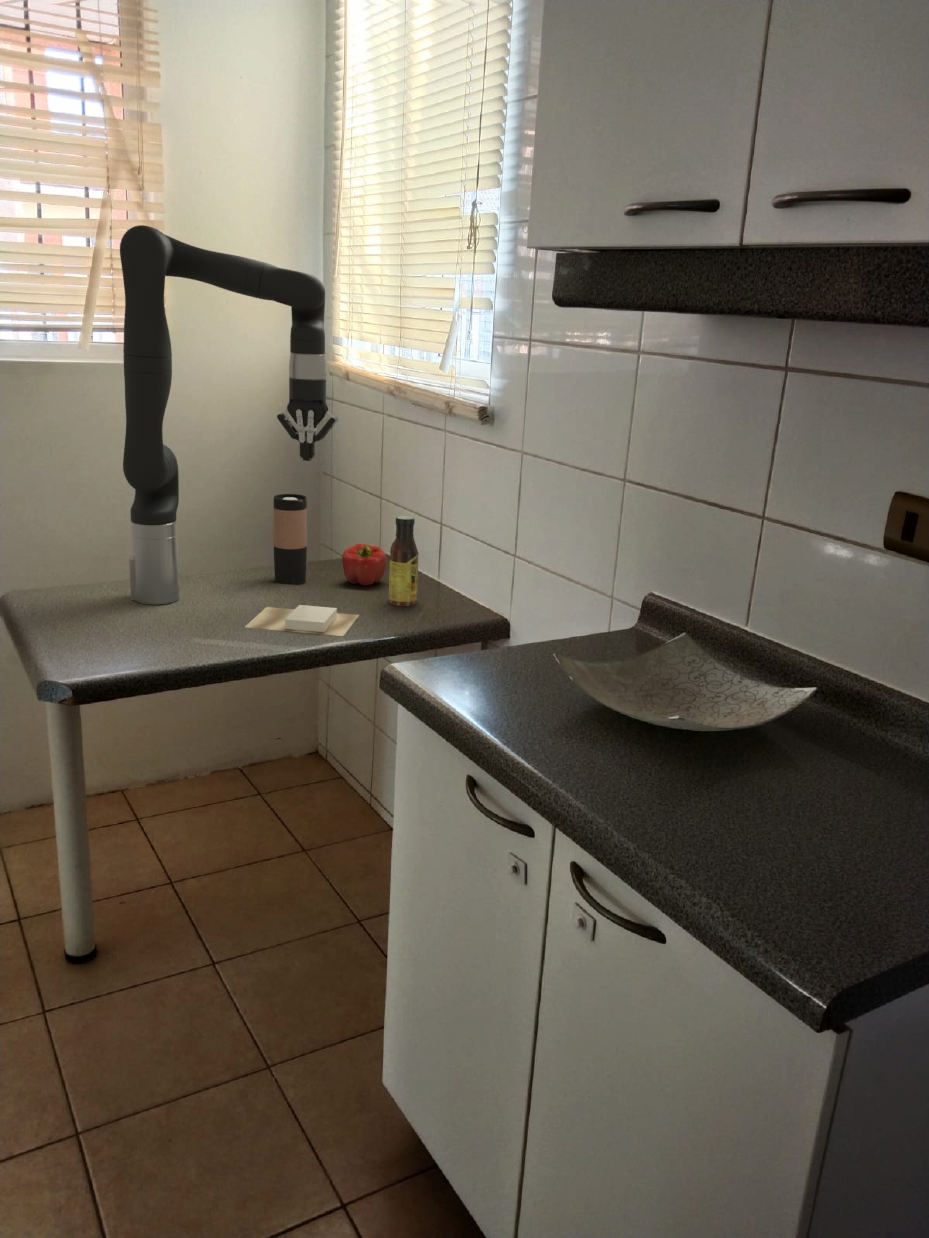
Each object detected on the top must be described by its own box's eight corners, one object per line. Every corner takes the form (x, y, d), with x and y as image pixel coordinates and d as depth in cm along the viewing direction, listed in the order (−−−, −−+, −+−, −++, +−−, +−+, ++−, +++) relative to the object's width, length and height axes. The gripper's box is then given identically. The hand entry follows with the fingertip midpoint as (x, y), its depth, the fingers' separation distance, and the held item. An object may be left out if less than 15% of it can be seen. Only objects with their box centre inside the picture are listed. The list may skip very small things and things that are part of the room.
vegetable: (390, 589, 233) (391, 547, 229) (345, 591, 230) (346, 548, 227) (381, 577, 243) (382, 536, 239) (338, 578, 240) (339, 537, 237)
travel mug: (273, 576, 238) (273, 493, 232) (306, 576, 239) (306, 494, 233) (273, 585, 231) (273, 500, 225) (307, 585, 232) (307, 500, 226)
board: (244, 631, 199) (244, 627, 199) (266, 611, 212) (266, 607, 212) (343, 640, 197) (343, 635, 196) (359, 619, 210) (359, 615, 210)
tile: (299, 614, 208) (284, 629, 199) (299, 604, 207) (284, 619, 198) (336, 617, 207) (324, 632, 198) (336, 608, 207) (324, 622, 197)
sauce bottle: (416, 611, 218) (419, 521, 212) (387, 609, 217) (389, 520, 211) (417, 602, 224) (420, 515, 218) (389, 601, 224) (391, 513, 218)
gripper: (270, 375, 203) (271, 460, 209) (334, 379, 202) (333, 465, 207) (281, 373, 211) (282, 455, 216) (343, 377, 209) (342, 459, 214)
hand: (307, 460), depth 212 cm, fingers closed
